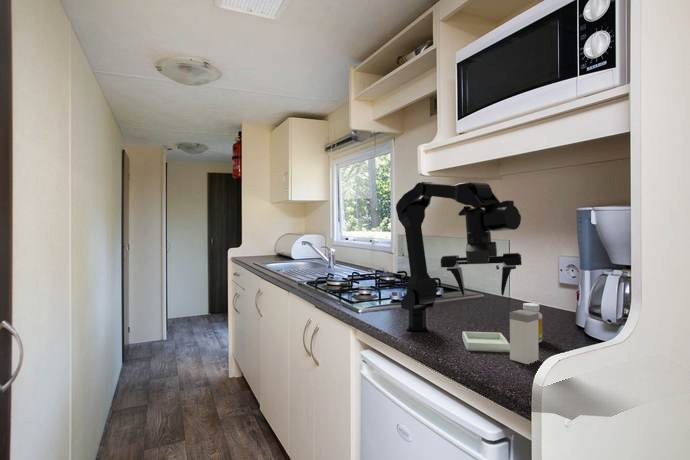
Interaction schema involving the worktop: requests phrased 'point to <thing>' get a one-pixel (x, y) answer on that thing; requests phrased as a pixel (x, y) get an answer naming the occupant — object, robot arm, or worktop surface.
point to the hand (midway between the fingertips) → (482, 295)
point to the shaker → (524, 336)
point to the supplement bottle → (535, 308)
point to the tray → (485, 342)
